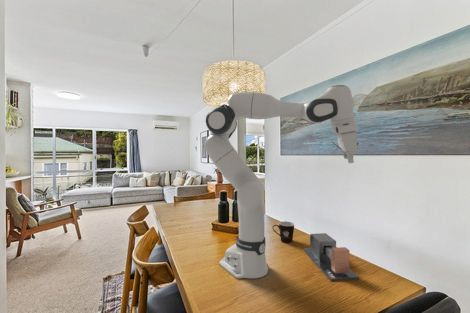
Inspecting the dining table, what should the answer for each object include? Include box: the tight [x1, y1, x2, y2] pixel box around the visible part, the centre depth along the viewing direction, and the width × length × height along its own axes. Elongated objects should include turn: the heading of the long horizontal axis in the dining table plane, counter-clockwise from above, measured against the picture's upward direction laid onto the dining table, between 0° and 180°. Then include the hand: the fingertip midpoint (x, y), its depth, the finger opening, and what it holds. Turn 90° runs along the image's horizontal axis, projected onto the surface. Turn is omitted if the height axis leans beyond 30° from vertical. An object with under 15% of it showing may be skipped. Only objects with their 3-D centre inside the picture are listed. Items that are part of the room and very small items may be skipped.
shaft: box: [324, 246, 350, 273], centre depth 101 cm, size 17×6×9 cm, turn 5°
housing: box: [302, 232, 360, 282], centre depth 105 cm, size 28×12×10 cm, turn 5°
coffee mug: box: [271, 220, 295, 244], centre depth 131 cm, size 12×9×10 cm
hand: (348, 160), depth 92 cm, fingers open, 8 cm apart
